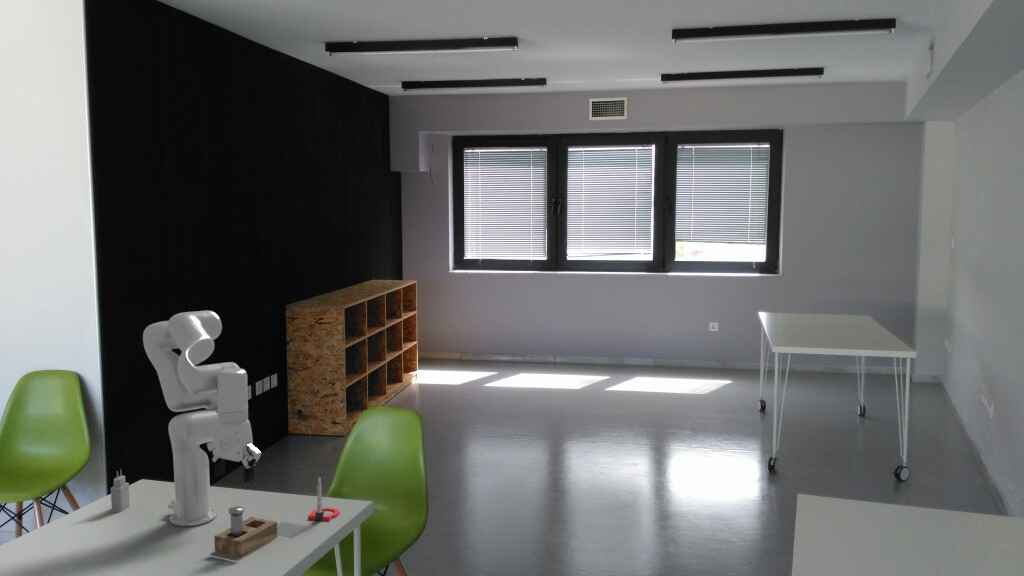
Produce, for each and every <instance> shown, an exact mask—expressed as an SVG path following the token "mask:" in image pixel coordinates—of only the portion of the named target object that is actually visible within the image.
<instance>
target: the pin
mask: <svg viewBox="0 0 1024 576" xmlns="http://www.w3.org/2000/svg"><path fill="white" fill-rule="evenodd" d="M244 512H245V507H243V506H241V505H240V506H231V507H230V508H228V514H229V515H230V528H231V537H235V538H239V537H241V536H242V535H243V521H244V520H243V519H244V518H243V517H244V515H243V513H244Z"/></svg>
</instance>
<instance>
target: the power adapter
mask: <svg viewBox="0 0 1024 576" xmlns="http://www.w3.org/2000/svg"><path fill="white" fill-rule="evenodd" d="M119 473H120V475H119ZM122 473H123V472H122V468H120V472H119V471H116V477H115V478H114V479H113V486H112V487H110V499H111V500H110V502H111V512H112V513H122V512H123V511H125V510H126V509H127V508H129V507H131V504H130V503H131V502H130V501H131V500H130V483H129V482H126V476H125V475H122Z"/></svg>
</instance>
